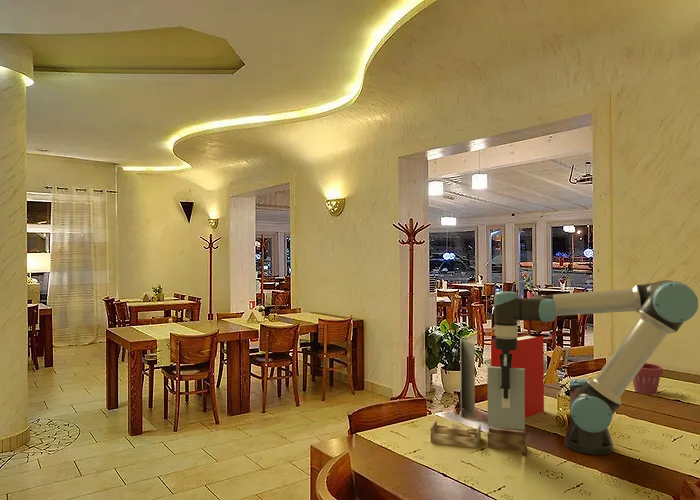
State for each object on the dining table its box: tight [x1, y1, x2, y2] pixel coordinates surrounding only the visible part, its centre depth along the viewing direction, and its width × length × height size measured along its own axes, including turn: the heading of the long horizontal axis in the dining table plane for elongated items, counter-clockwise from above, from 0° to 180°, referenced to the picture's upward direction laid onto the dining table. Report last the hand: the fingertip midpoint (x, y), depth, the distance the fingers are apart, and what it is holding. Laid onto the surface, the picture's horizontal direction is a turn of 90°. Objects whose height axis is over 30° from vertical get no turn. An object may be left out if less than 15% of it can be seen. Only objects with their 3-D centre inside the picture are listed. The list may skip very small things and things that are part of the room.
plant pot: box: [632, 362, 663, 395], centre depth 252 cm, size 14×14×13 cm
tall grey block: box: [459, 338, 476, 418], centre depth 220 cm, size 14×6×30 cm, turn 168°
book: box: [490, 333, 545, 419], centre depth 215 cm, size 27×8×32 cm, turn 129°
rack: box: [430, 418, 482, 449], centre depth 182 cm, size 16×10×6 cm, turn 71°
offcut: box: [447, 424, 470, 437], centre depth 180 cm, size 7×4×2 cm, turn 71°
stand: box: [487, 427, 528, 457], centre depth 176 cm, size 13×8×6 cm, turn 71°
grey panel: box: [487, 365, 526, 431], centre depth 177 cm, size 12×2×20 cm, turn 71°
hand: (506, 406), depth 176 cm, fingers closed on grey panel, 2 cm apart
